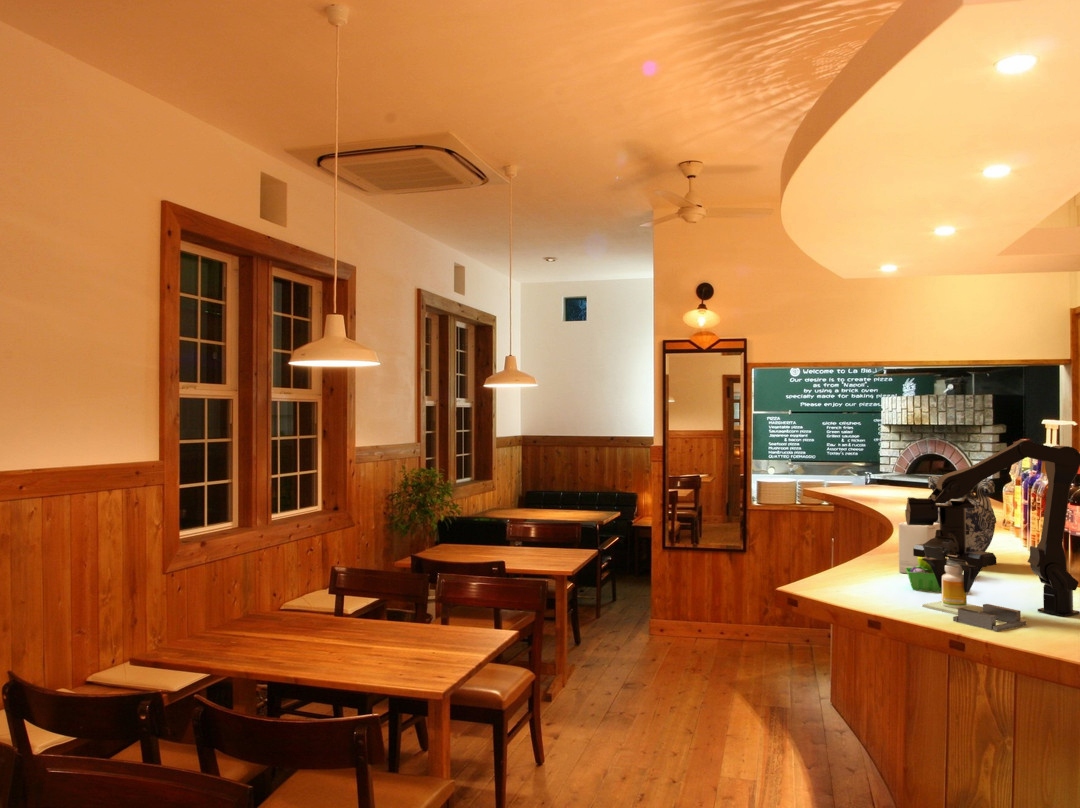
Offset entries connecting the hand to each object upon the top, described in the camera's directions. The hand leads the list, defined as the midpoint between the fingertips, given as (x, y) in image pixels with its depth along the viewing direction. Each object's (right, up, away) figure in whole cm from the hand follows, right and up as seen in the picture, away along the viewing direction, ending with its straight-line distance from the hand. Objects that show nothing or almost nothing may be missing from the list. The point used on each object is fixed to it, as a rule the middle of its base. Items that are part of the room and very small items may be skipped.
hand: (954, 590), depth 199 cm
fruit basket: (+5, -5, +23) cm, 24 cm away
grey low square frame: (+1, -4, -14) cm, 15 cm away
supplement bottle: (0, -4, 0) cm, 4 cm away
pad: (0, -5, 0) cm, 4 cm away
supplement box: (+13, -5, +45) cm, 47 cm away
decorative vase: (+31, -5, +57) cm, 65 cm away
